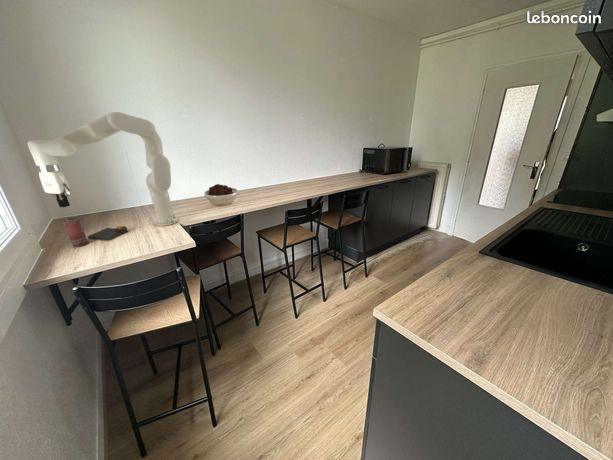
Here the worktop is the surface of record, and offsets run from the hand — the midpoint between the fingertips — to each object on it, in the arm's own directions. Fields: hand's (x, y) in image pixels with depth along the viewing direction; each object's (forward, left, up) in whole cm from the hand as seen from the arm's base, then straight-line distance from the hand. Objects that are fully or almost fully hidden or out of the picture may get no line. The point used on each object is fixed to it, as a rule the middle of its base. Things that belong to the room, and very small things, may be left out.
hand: (64, 206), depth 123 cm
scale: (-4, -13, -21) cm, 25 cm away
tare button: (-9, -17, -19) cm, 27 cm away
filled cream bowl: (-39, -79, -22) cm, 91 cm away
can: (0, 0, -22) cm, 22 cm away
